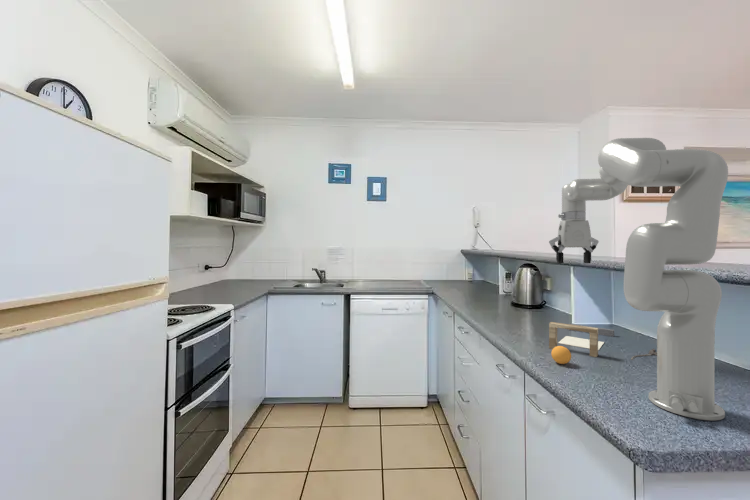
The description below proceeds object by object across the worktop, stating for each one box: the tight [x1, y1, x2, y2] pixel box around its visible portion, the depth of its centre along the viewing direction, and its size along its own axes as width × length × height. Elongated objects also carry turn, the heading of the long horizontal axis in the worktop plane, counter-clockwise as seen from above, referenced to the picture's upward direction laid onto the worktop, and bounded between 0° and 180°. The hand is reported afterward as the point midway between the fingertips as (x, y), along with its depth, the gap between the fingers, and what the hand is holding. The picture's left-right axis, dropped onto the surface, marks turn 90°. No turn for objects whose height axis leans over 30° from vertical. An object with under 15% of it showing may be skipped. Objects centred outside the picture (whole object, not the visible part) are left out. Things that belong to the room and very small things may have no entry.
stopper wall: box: [569, 323, 615, 338], centre depth 138 cm, size 2×16×2 cm, turn 47°
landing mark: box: [557, 335, 605, 351], centre depth 123 cm, size 13×13×1 cm
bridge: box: [548, 321, 599, 358], centre depth 113 cm, size 3×14×9 cm, turn 47°
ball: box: [551, 345, 572, 365], centre depth 101 cm, size 6×6×6 cm
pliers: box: [630, 348, 657, 361], centre depth 108 cm, size 10×1×20 cm
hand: (573, 263), depth 118 cm, fingers open, 9 cm apart
